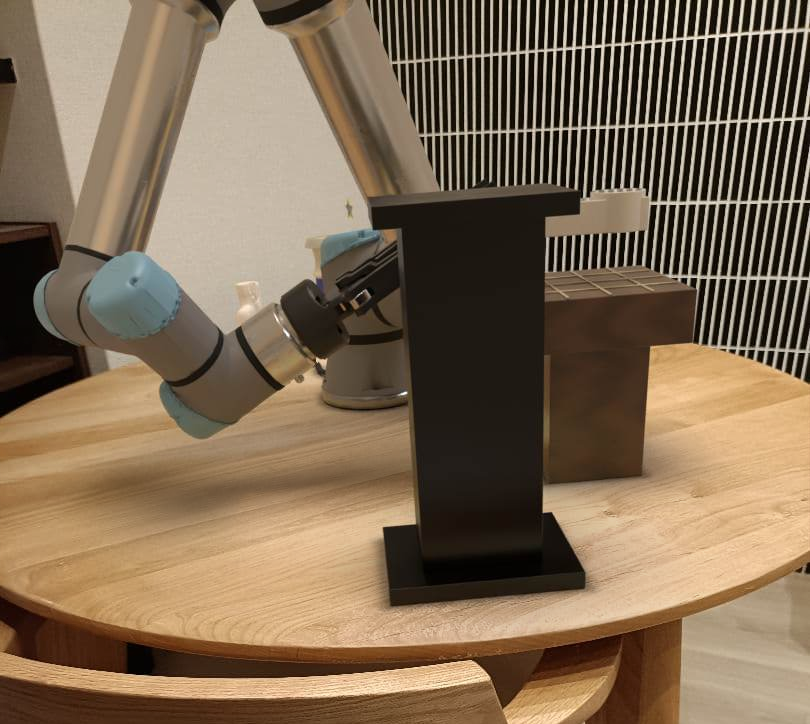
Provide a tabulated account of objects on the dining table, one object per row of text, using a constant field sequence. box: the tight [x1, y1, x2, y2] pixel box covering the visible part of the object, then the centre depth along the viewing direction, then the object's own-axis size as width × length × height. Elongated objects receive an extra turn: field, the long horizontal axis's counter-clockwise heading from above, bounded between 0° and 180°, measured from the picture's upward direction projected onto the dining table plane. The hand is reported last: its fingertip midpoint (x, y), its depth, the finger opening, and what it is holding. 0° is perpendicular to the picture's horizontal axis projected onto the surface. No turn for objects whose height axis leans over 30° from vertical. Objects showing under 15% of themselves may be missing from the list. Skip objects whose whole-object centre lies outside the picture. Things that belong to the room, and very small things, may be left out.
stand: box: [366, 182, 587, 607], centre depth 65 cm, size 16×12×30 cm
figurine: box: [235, 280, 264, 328], centre depth 132 cm, size 7×9×15 cm
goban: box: [543, 264, 698, 484], centre depth 87 cm, size 16×16×20 cm
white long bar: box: [545, 187, 651, 238], centre depth 79 cm, size 24×5×4 cm, turn 94°
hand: (496, 192), depth 78 cm, fingers closed on white long bar, 4 cm apart
